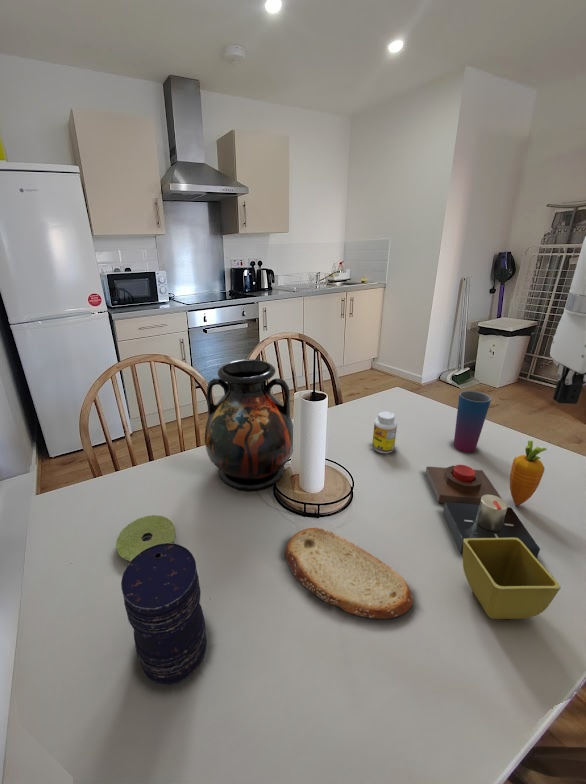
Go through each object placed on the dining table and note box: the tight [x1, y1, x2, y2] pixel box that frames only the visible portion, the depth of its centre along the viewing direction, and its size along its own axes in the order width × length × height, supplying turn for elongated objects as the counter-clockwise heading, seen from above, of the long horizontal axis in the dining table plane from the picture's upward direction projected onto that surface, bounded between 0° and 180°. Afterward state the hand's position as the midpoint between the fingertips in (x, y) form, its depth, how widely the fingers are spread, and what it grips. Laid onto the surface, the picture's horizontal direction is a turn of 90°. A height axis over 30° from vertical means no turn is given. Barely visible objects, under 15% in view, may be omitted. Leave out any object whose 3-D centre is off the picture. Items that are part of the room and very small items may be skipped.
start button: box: [453, 464, 475, 482], centre depth 78 cm, size 4×4×2 cm
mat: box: [115, 514, 177, 562], centre depth 69 cm, size 11×11×2 cm
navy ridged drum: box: [120, 542, 208, 686], centre depth 49 cm, size 10×10×15 cm
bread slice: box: [284, 527, 414, 620], centre depth 61 cm, size 18×18×4 cm
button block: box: [424, 465, 503, 505], centre depth 79 cm, size 12×10×4 cm
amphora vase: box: [204, 358, 294, 493], centre depth 84 cm, size 22×22×28 cm
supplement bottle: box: [371, 411, 398, 454], centre depth 94 cm, size 6×6×10 cm
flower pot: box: [462, 538, 562, 620], centre depth 54 cm, size 9×9×9 cm
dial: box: [476, 495, 509, 531], centre depth 65 cm, size 4×4×5 cm
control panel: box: [442, 502, 541, 560], centre depth 67 cm, size 12×10×3 cm
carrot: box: [509, 440, 548, 506], centre depth 72 cm, size 5×5×15 cm
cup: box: [453, 390, 492, 453], centre depth 92 cm, size 7×7×15 cm
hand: (564, 401), depth 67 cm, fingers closed
